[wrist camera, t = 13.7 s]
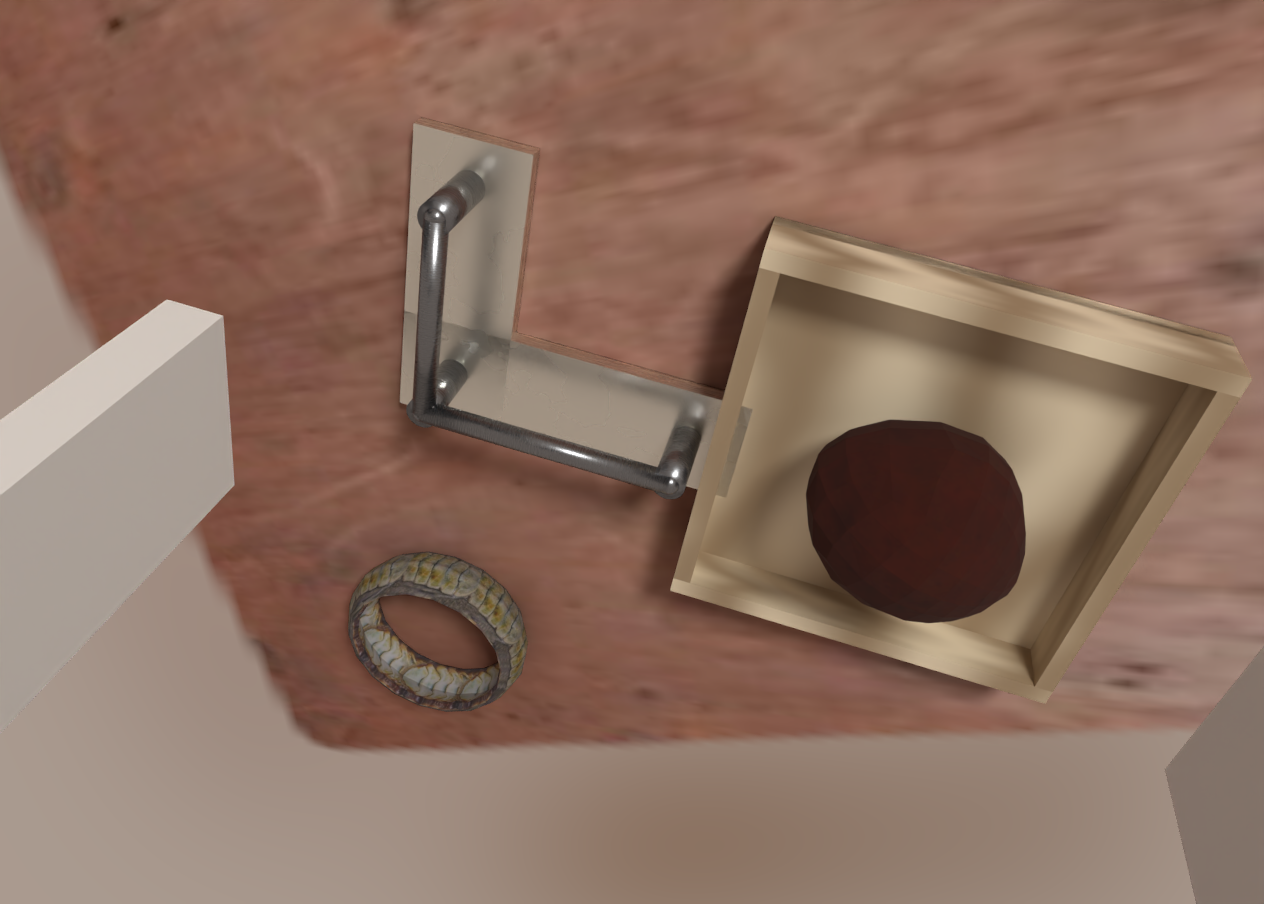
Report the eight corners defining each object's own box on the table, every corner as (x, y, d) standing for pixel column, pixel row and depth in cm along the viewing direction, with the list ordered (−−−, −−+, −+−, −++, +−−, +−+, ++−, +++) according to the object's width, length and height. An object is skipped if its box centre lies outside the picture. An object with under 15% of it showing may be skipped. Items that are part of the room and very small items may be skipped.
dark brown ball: (945, 575, 47) (947, 701, 40) (773, 470, 46) (749, 583, 39) (1073, 459, 42) (1098, 582, 36) (885, 339, 41) (877, 444, 35)
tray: (683, 547, 50) (670, 590, 48) (775, 216, 40) (764, 247, 37) (1038, 653, 49) (1045, 703, 46) (1230, 336, 38) (1252, 378, 36)
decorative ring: (466, 701, 61) (571, 631, 56) (445, 744, 59) (553, 674, 53) (333, 596, 59) (428, 511, 53) (305, 635, 56) (402, 550, 51)
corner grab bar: (406, 394, 49) (363, 447, 45) (421, 117, 41) (370, 154, 37) (728, 487, 48) (711, 551, 44) (809, 219, 40) (796, 269, 36)
